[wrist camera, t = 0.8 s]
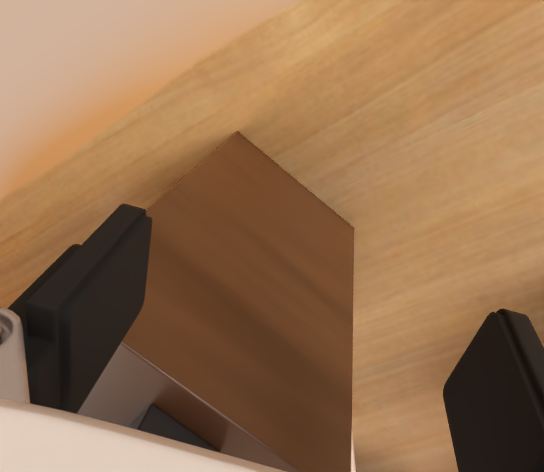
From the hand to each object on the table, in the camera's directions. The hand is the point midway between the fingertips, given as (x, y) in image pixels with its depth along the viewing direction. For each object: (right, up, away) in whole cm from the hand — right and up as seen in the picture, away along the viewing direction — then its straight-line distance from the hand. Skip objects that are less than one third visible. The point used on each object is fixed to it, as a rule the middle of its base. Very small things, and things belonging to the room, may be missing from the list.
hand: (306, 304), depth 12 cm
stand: (-2, +2, +21) cm, 21 cm away
